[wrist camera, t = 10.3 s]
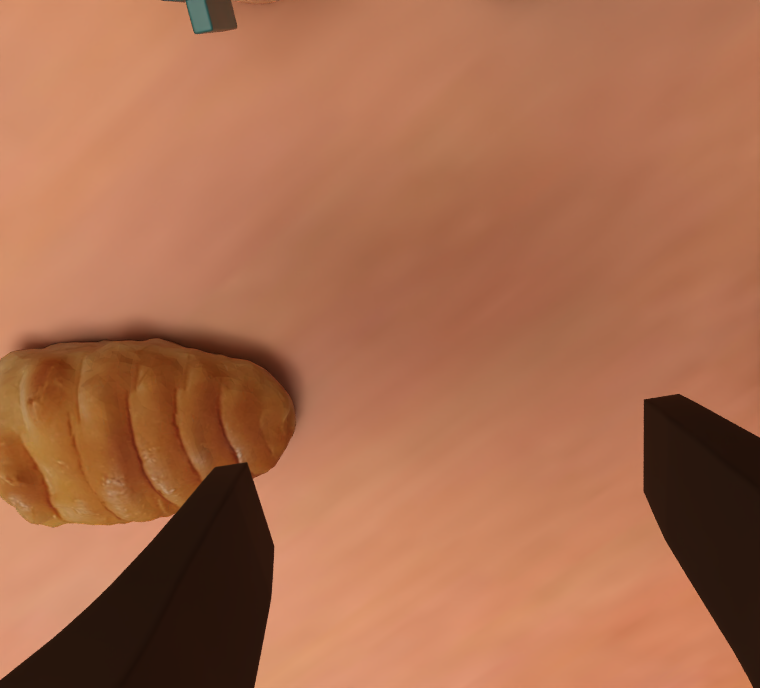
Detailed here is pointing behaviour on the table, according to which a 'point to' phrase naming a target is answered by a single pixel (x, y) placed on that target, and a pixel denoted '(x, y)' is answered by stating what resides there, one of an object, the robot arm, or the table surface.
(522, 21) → the table surface
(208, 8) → the marker
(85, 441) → the pastry
